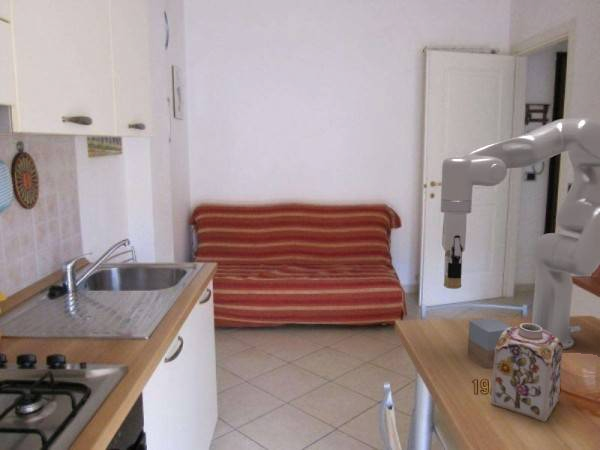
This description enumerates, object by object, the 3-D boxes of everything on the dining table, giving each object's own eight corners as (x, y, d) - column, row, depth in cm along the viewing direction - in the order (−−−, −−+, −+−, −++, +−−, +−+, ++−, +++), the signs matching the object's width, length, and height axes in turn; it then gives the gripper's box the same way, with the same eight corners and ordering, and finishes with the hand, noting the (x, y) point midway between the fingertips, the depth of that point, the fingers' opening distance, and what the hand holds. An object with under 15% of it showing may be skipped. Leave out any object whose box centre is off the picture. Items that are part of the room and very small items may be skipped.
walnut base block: (492, 352, 137) (493, 335, 136) (512, 364, 130) (513, 346, 129) (467, 355, 135) (468, 338, 134) (486, 368, 127) (487, 350, 126)
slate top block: (493, 335, 136) (494, 317, 135) (513, 346, 129) (515, 328, 128) (468, 338, 134) (469, 321, 133) (487, 350, 126) (488, 332, 126)
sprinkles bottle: (465, 287, 130) (467, 237, 127) (453, 290, 127) (455, 239, 125) (451, 283, 134) (453, 234, 131) (439, 286, 131) (441, 236, 129)
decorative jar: (506, 384, 119) (511, 313, 116) (559, 400, 112) (566, 325, 109) (489, 405, 110) (494, 328, 107) (545, 424, 103) (553, 342, 100)
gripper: (437, 201, 135) (435, 266, 139) (444, 211, 119) (441, 284, 122) (466, 201, 134) (463, 267, 137) (476, 211, 118) (472, 285, 121)
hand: (452, 274), depth 130 cm, fingers closed on sprinkles bottle, 4 cm apart
